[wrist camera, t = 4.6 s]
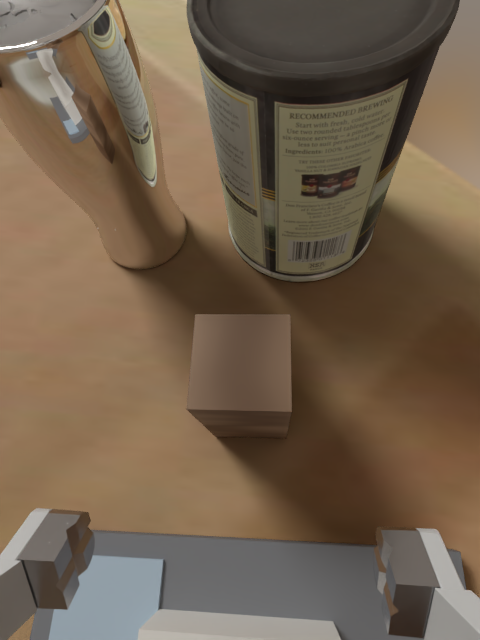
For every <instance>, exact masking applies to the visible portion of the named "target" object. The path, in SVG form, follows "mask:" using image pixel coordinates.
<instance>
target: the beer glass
mask: <svg viewBox="0 0 480 640" xmlns="http://www.w3.org/2000/svg"><path fill="white" fill-rule="evenodd" d="M0 119H1V120H2V122H3V123H4V124H5V126H6V127H7V129H8V130H9V132H10V133H11V134H12V136H13V137H14V138H15V139H16V141H17V142H18V143H19V144H20V146H21V147H22V148H23V149H24V151H25V152H26V153H27V155H28V156H29V157H30V158H31V159H32V160H33V161H34V162H35V163H36V164H37V166H38V167H39V168H40V169H41V170H42V171H43V172H44V173H45V174H46V175H47V176H48V177H49V178H50V179H51V180H52V181H53V182H54V183H55V184H56V185H57V186H58V187H59V188H60V189H61V190H62V191H63V192H64V193H65V194H67V195H68V196H69V197H70V198H71V199H72V200H73V201H74V202H75V203H76V204H77V205H78V206H79V207H80V208H81V209H82V210H83V211H84V212H85V213H86V214H87V215H88V216H89V217H90V219H91V220H92V221H93V222H94V224H95V226H96V228H97V230H98V232H99V235H100V238H101V241H102V243H103V246H104V248H105V250H106V252H107V254H108V255H109V256H110V258H111V259H112V260H114V261H115V262H116V263H118V264H119V265H121V266H124V267H126V268H130V269H148V268H152V267H155V266H158V265H161V264H163V263H164V262H166V261H168V260H169V259H171V258H172V257H173V256H174V255H175V254H176V253H177V252H178V251H179V249H180V248H181V246H182V245H183V243H184V240H185V237H186V231H187V227H186V221H185V218H184V215H183V213H182V211H181V210H180V208H179V207H178V205H177V204H176V202H175V201H174V199H173V197H172V196H171V194H170V191H169V189H168V186H167V182H166V177H165V170H164V162H163V153H162V145H161V137H160V129H159V123H158V118H157V112H156V106H155V102H154V98H153V94H152V91H151V87H150V83H149V80H148V76H147V73H146V70H145V67H144V64H143V61H142V59H141V56H140V53H139V50H138V47H137V44H136V42H135V39H134V37H133V34H132V31H131V29H130V26H129V23H128V21H127V19H126V16H125V14H124V11H123V9H122V6H121V4H120V1H119V0H0Z"/></svg>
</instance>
